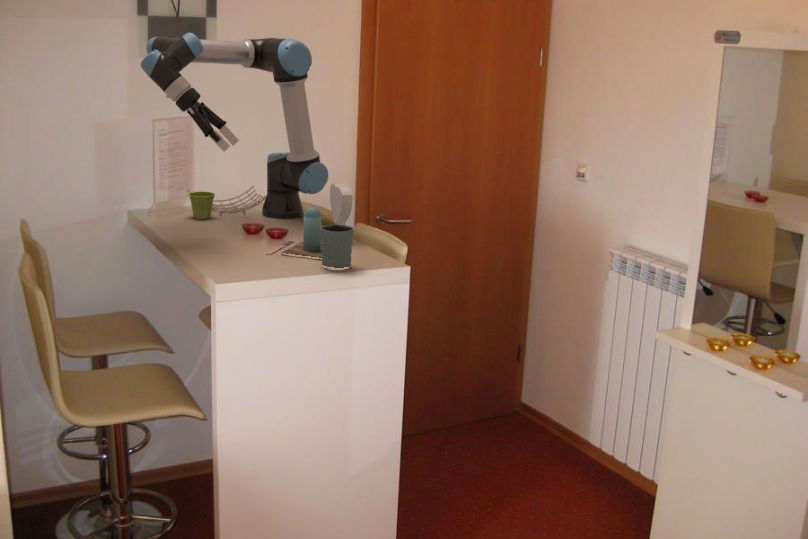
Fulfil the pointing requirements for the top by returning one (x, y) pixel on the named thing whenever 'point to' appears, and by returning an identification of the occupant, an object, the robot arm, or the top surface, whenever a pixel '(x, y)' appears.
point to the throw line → (288, 242)
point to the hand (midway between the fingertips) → (232, 145)
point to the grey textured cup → (336, 245)
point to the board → (302, 251)
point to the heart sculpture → (340, 202)
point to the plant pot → (201, 204)
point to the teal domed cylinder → (312, 230)
